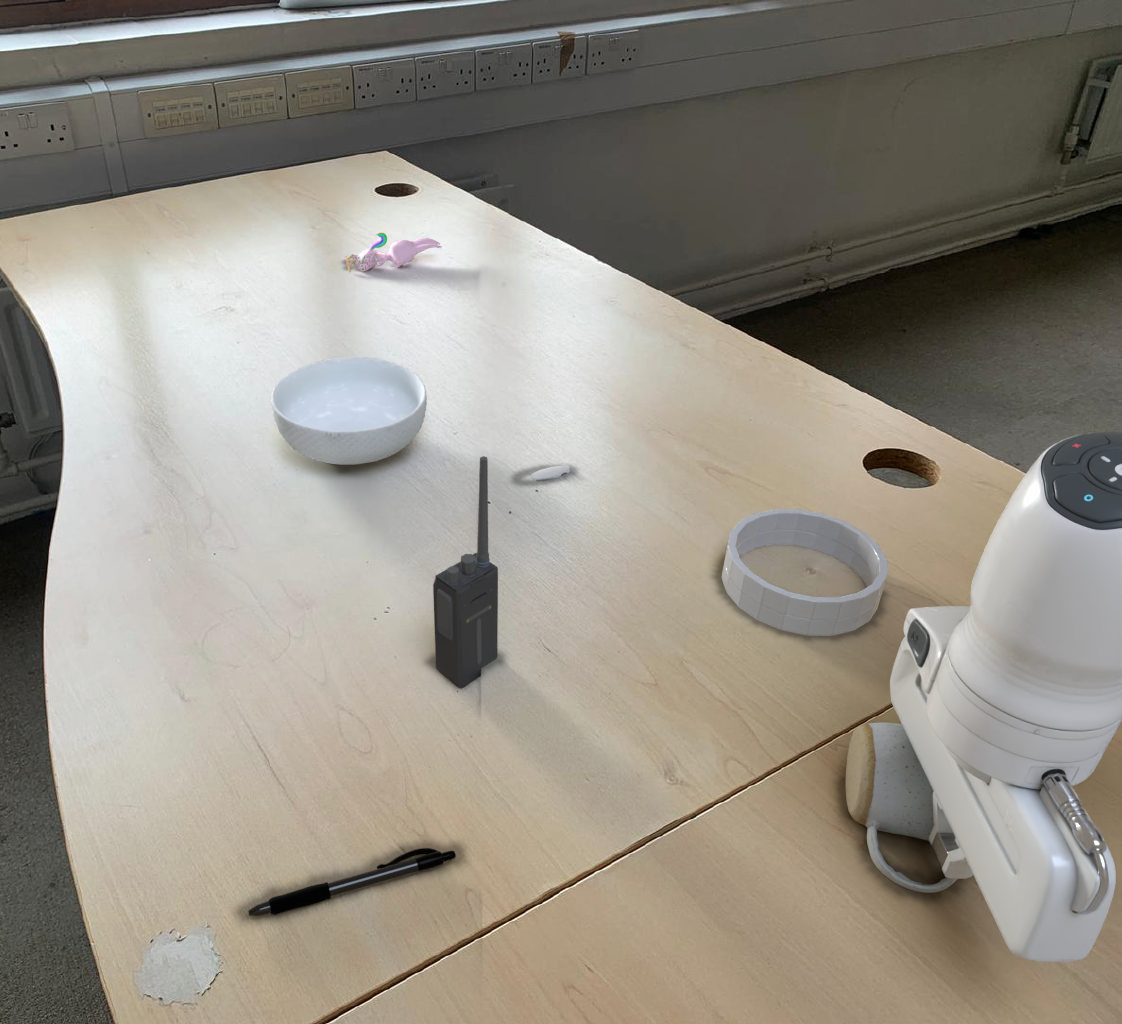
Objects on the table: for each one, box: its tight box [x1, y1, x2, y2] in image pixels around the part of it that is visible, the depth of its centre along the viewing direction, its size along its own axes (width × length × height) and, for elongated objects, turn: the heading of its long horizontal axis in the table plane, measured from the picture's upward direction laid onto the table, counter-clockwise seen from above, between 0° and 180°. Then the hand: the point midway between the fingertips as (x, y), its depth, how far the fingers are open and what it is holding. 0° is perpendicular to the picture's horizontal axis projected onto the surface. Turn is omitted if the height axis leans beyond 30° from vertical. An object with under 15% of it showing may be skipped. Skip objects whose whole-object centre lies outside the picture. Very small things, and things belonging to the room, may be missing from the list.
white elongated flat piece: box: [529, 464, 571, 482], centre depth 105 cm, size 6×2×1 cm, turn 105°
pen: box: [248, 847, 457, 917], centre depth 66 cm, size 14×2×1 cm, turn 108°
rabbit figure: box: [344, 232, 442, 274], centre depth 154 cm, size 6×6×15 cm
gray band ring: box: [721, 508, 889, 637], centre depth 89 cm, size 13×13×4 cm
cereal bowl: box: [270, 356, 428, 466], centre depth 110 cm, size 17×17×7 cm
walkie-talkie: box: [432, 456, 499, 689], centre depth 77 cm, size 5×3×20 cm
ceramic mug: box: [845, 721, 958, 894], centre depth 66 cm, size 11×8×8 cm
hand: (948, 860), depth 63 cm, fingers closed
